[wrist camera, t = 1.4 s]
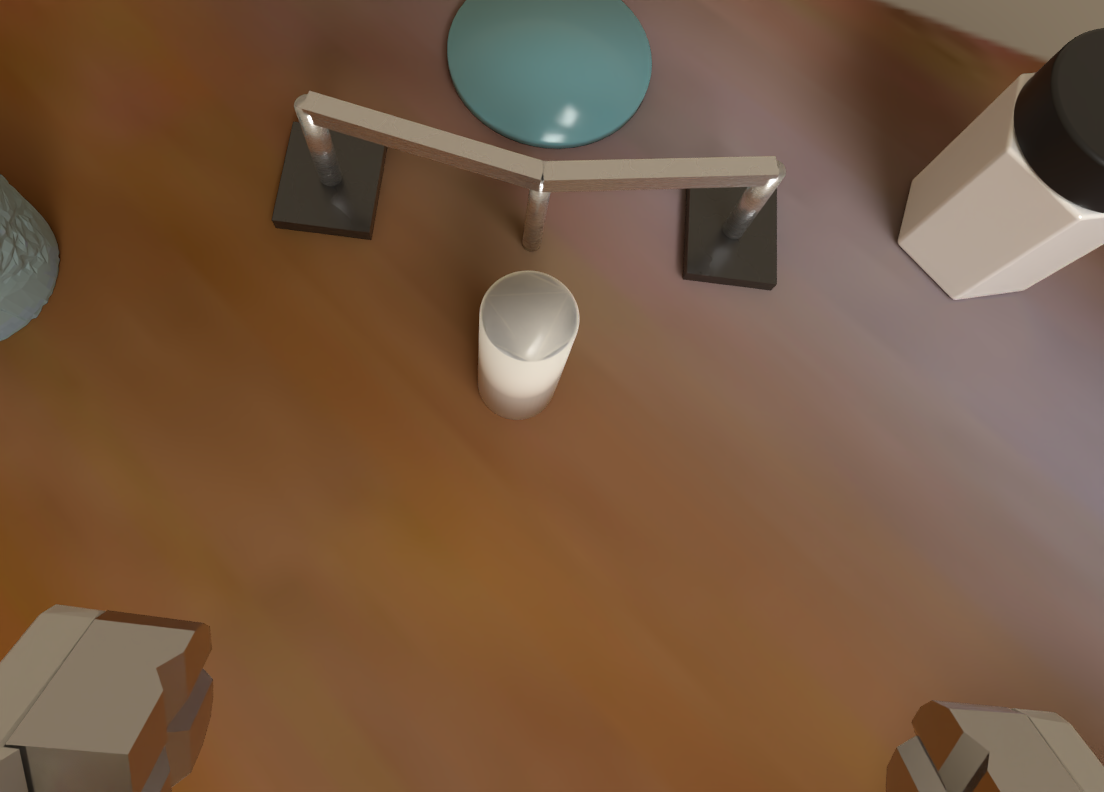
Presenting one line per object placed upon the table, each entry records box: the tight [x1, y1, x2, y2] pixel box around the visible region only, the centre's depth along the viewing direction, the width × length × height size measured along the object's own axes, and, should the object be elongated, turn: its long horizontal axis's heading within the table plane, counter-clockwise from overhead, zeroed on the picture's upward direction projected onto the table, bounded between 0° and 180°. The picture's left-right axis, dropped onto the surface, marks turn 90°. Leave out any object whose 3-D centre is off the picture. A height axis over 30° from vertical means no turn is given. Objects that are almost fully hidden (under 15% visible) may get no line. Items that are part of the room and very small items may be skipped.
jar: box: [898, 28, 1104, 300], centre depth 38 cm, size 9×8×12 cm
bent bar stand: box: [272, 91, 786, 290], centre depth 38 cm, size 27×6×7 cm, turn 85°
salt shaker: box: [478, 271, 579, 420], centre depth 34 cm, size 4×4×9 cm
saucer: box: [447, 0, 652, 149], centre depth 44 cm, size 12×12×1 cm
